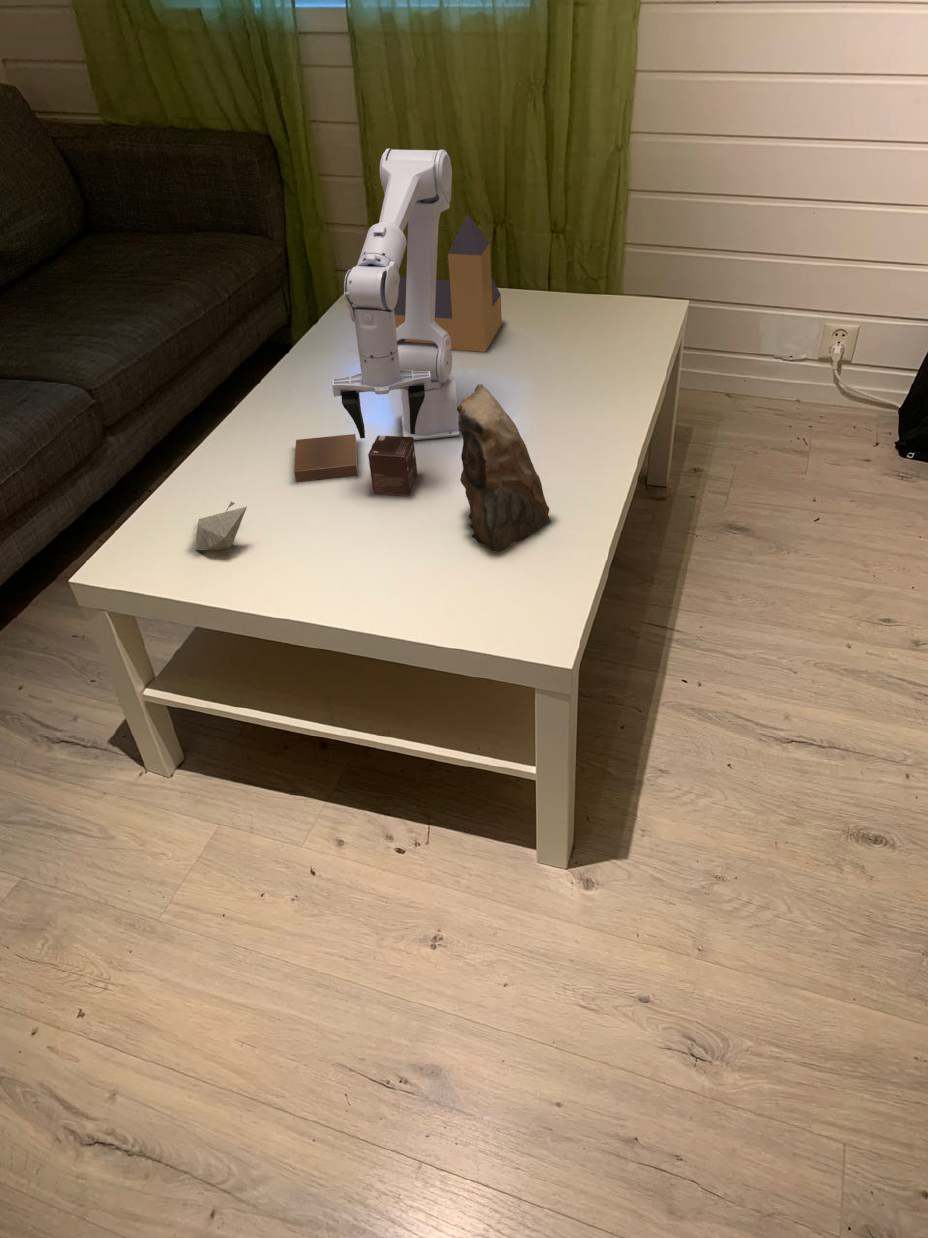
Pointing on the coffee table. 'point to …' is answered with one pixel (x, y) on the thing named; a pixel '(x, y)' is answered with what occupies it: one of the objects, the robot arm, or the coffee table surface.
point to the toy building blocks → (464, 294)
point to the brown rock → (498, 474)
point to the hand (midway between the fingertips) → (387, 433)
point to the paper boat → (219, 529)
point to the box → (393, 465)
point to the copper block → (326, 457)
